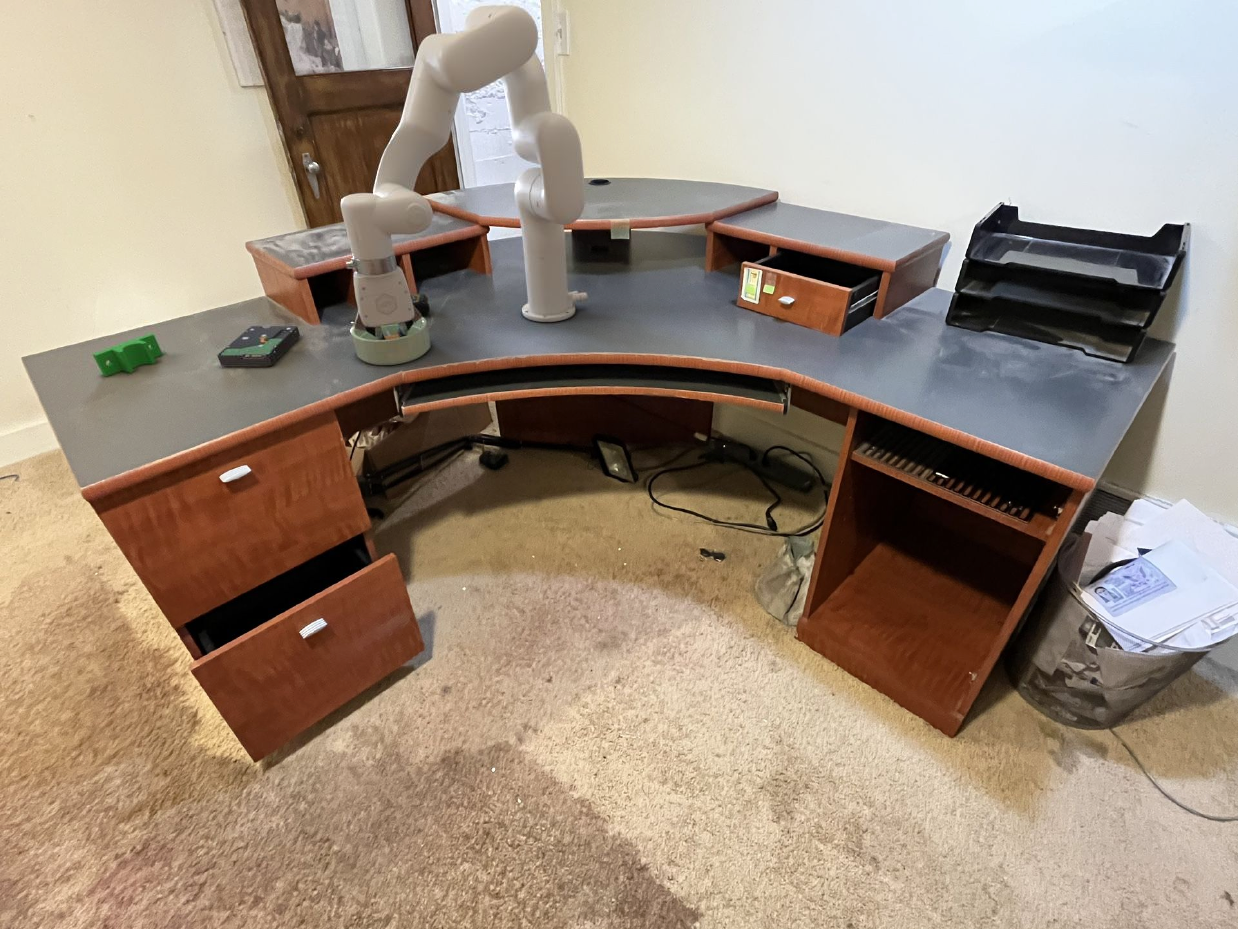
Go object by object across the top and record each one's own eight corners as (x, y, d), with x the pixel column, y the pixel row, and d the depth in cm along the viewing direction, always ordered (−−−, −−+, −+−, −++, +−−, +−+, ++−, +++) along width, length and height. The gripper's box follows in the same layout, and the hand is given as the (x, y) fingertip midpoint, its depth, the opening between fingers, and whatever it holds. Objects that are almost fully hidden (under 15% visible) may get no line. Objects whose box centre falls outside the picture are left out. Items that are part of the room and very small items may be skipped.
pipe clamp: (114, 379, 121) (103, 358, 118) (103, 375, 122) (91, 354, 119) (170, 356, 129) (161, 336, 126) (159, 353, 130) (150, 332, 127)
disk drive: (254, 337, 137) (220, 367, 125) (250, 325, 135) (215, 354, 123) (301, 337, 137) (272, 366, 125) (297, 325, 135) (268, 354, 123)
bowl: (422, 331, 139) (417, 307, 136) (438, 357, 128) (433, 332, 125) (352, 343, 134) (346, 319, 131) (362, 372, 123) (356, 347, 120)
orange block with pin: (406, 357, 127) (402, 343, 125) (391, 360, 126) (387, 345, 124) (395, 336, 136) (392, 322, 134) (381, 339, 134) (378, 325, 133)
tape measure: (431, 316, 146) (428, 301, 144) (401, 320, 144) (397, 304, 142) (429, 306, 151) (426, 291, 149) (400, 309, 150) (397, 294, 147)
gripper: (332, 276, 113) (356, 367, 123) (423, 263, 119) (439, 352, 129) (328, 264, 118) (351, 353, 129) (415, 253, 124) (430, 338, 135)
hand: (395, 351), depth 129 cm, fingers closed on orange block with pin, 3 cm apart
